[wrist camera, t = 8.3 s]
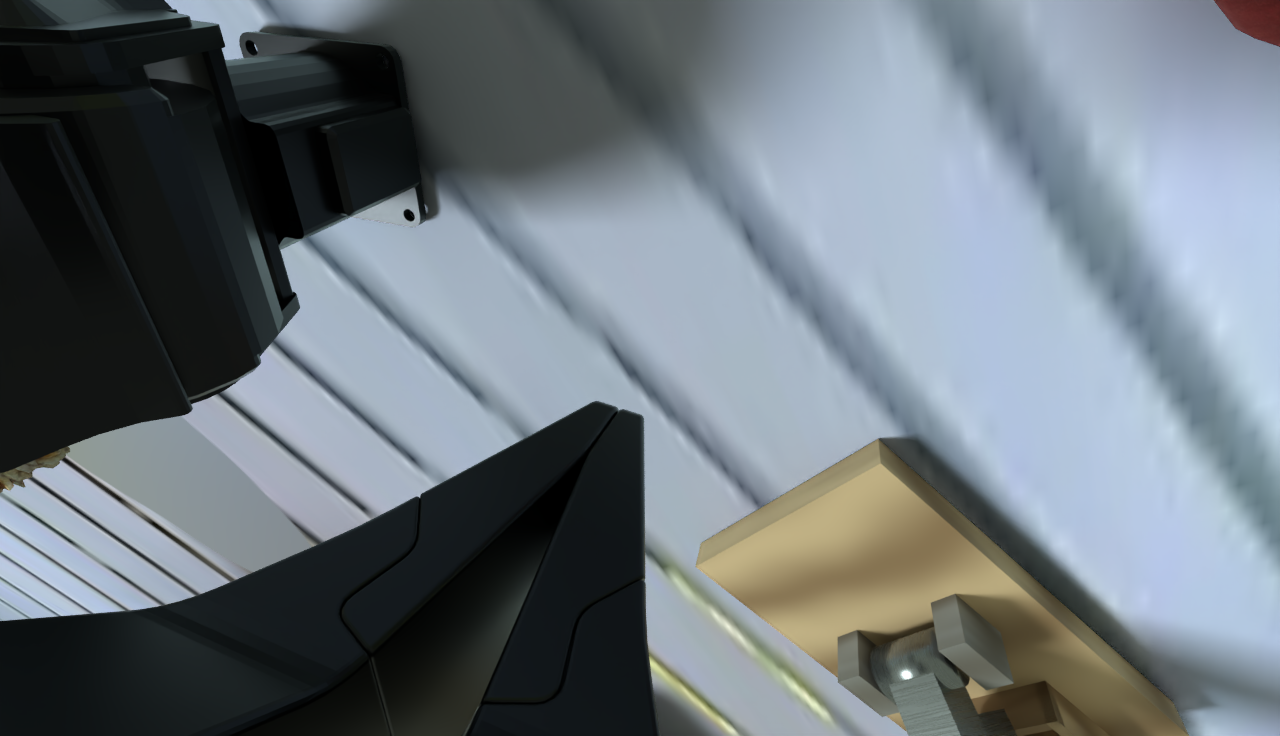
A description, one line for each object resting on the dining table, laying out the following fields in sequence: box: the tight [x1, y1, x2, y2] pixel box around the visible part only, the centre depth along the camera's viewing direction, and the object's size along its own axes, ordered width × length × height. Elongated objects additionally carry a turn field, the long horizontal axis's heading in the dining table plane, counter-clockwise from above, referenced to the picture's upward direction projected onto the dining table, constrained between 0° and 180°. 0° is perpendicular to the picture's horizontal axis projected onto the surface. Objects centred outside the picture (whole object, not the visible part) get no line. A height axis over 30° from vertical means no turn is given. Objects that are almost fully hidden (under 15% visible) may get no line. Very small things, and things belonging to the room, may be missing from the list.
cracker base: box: [696, 439, 1189, 736], centre depth 27 cm, size 20×11×4 cm, turn 51°
